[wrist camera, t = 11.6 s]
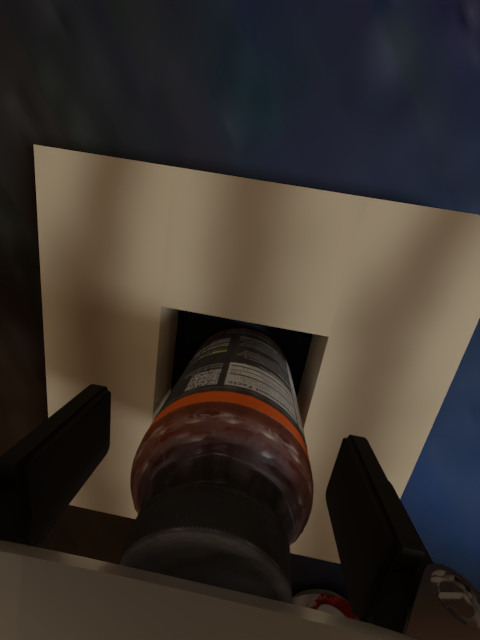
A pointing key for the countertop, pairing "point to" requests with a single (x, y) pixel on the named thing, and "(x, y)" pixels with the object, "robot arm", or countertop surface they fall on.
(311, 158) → the countertop surface
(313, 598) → the soda can
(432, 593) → the robot arm
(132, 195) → the socket board
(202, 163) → the countertop surface
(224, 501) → the supplement bottle
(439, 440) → the countertop surface
